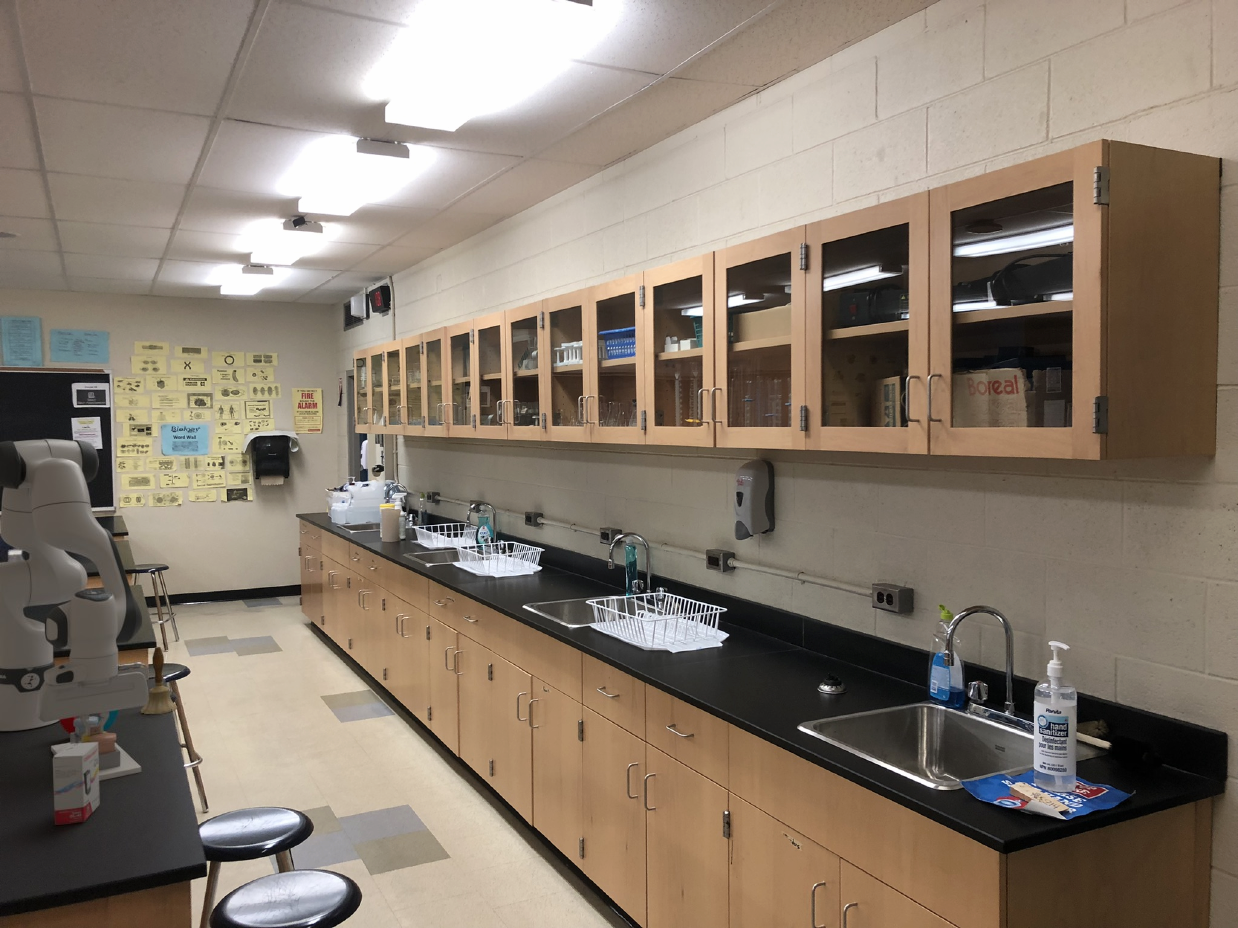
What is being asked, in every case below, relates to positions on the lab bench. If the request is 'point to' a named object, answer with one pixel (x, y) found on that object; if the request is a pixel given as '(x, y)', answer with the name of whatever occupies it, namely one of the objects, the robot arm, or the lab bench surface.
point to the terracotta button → (104, 742)
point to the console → (107, 760)
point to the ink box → (76, 782)
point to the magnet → (69, 722)
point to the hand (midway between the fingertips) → (94, 734)
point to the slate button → (80, 727)
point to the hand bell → (158, 689)
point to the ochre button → (88, 737)
